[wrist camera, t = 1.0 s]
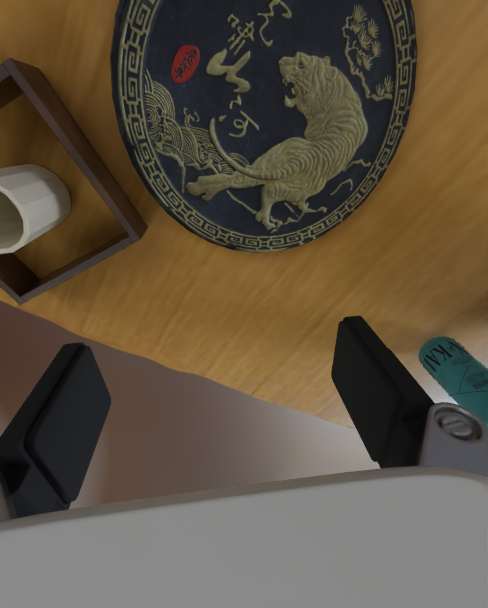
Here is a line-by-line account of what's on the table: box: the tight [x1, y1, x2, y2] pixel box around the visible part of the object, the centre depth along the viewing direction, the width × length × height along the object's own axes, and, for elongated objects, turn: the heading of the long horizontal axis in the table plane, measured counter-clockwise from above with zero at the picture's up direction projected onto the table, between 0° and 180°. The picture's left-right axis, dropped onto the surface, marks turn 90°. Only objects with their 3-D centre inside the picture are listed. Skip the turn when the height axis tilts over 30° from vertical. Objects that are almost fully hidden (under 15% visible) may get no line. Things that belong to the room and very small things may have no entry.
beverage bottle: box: [418, 336, 488, 428], centre depth 41 cm, size 6×7×20 cm
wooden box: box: [0, 58, 148, 305], centre depth 30 cm, size 17×17×4 cm
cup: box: [0, 164, 71, 254], centre depth 28 cm, size 6×6×9 cm
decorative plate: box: [110, 0, 417, 253], centre depth 29 cm, size 30×2×30 cm
